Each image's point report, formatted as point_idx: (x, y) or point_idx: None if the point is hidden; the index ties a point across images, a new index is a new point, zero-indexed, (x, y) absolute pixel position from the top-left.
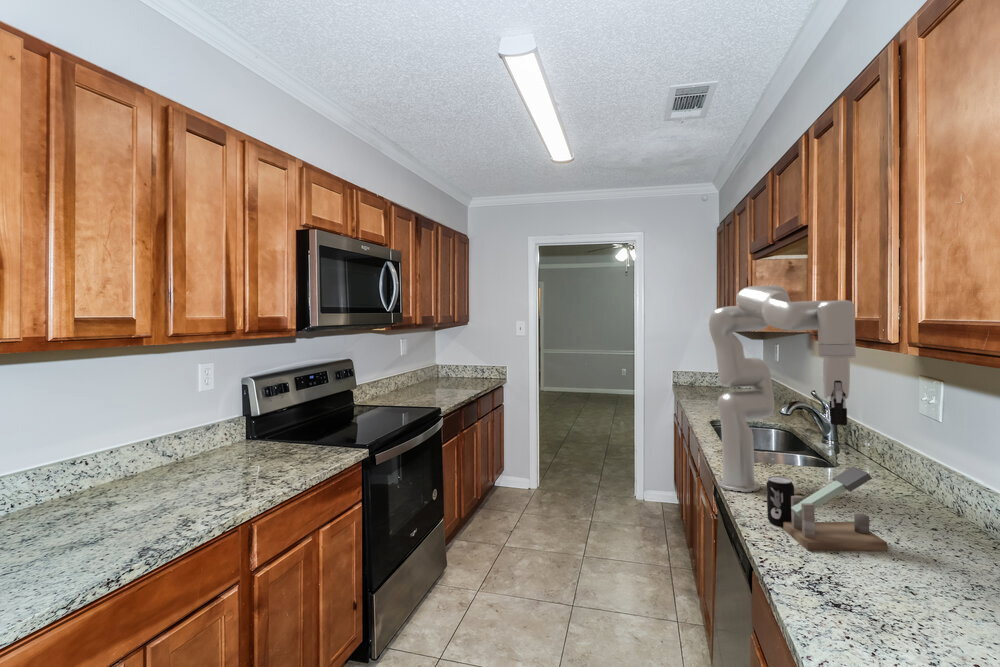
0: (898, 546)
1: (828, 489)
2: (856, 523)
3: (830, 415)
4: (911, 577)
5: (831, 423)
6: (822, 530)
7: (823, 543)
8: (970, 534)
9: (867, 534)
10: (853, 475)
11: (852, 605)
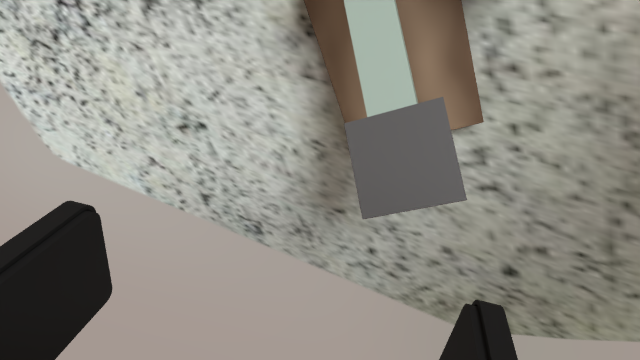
0: None
1: (376, 61)
2: None
3: (480, 307)
4: (245, 146)
5: (67, 204)
6: None
7: (306, 3)
8: None
9: None
10: (393, 171)
11: (80, 10)
